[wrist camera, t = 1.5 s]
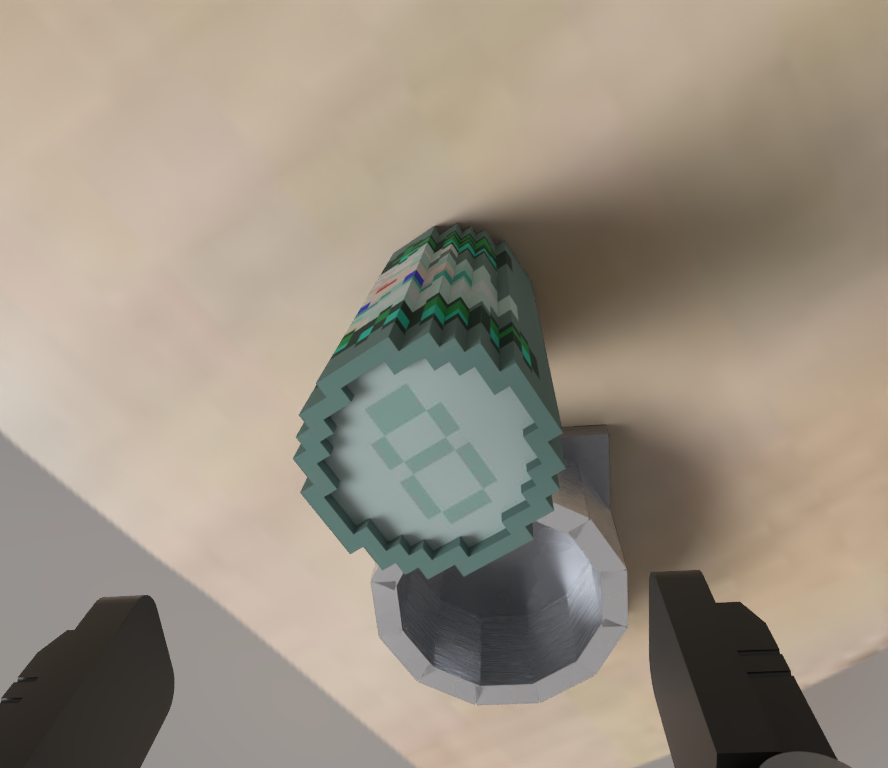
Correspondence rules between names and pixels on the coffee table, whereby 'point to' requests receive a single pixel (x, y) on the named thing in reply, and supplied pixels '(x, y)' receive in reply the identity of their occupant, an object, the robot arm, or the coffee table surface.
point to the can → (436, 412)
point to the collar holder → (520, 599)
